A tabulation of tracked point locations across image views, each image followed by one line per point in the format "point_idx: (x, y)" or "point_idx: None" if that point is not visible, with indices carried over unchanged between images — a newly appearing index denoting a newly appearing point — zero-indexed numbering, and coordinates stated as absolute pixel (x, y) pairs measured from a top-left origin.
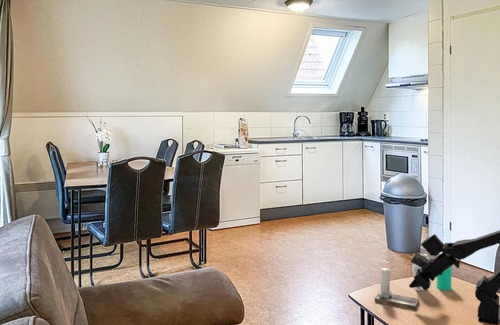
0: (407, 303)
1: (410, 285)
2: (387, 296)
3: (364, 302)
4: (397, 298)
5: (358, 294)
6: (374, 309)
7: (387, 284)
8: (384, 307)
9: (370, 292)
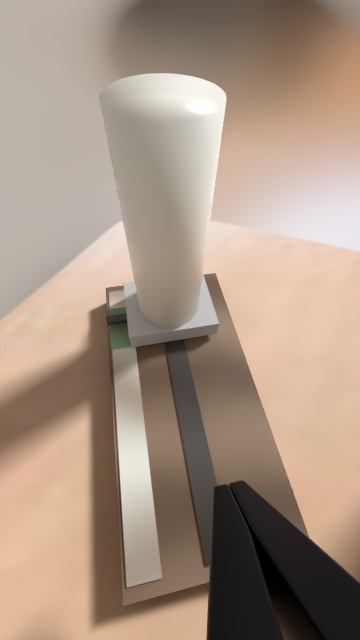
0: (140, 501)
1: (215, 521)
2: (130, 335)
3: (76, 271)
4: (185, 390)
5: None
6: (7, 336)
7: (143, 272)
8: (61, 368)
9: (207, 249)
